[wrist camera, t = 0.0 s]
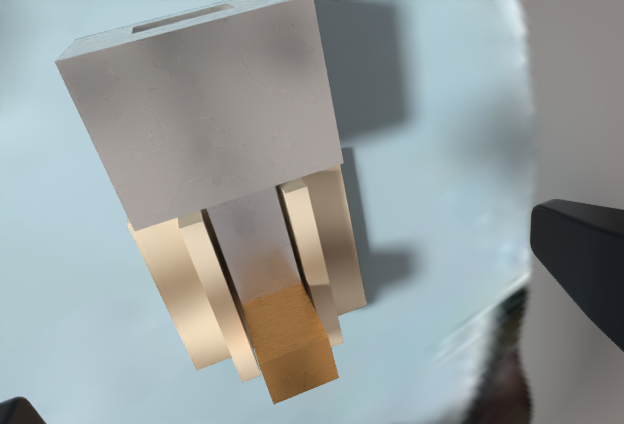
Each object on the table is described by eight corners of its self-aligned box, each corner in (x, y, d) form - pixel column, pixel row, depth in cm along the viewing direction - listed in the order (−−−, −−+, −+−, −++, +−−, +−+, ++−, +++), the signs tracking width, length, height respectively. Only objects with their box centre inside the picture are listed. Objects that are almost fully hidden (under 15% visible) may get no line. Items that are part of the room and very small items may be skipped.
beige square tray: (359, 294, 28) (381, 327, 26) (194, 357, 26) (200, 399, 24) (331, 148, 23) (354, 170, 21) (127, 213, 22) (125, 246, 19)
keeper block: (305, 125, 22) (343, 162, 18) (136, 178, 21) (134, 231, 17) (275, -12, 19) (312, -6, 15) (75, 39, 18) (54, 61, 14)
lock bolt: (303, 303, 25) (338, 378, 21) (250, 323, 25) (273, 404, 20) (266, 170, 21) (300, 226, 17) (201, 191, 21) (218, 255, 16)
